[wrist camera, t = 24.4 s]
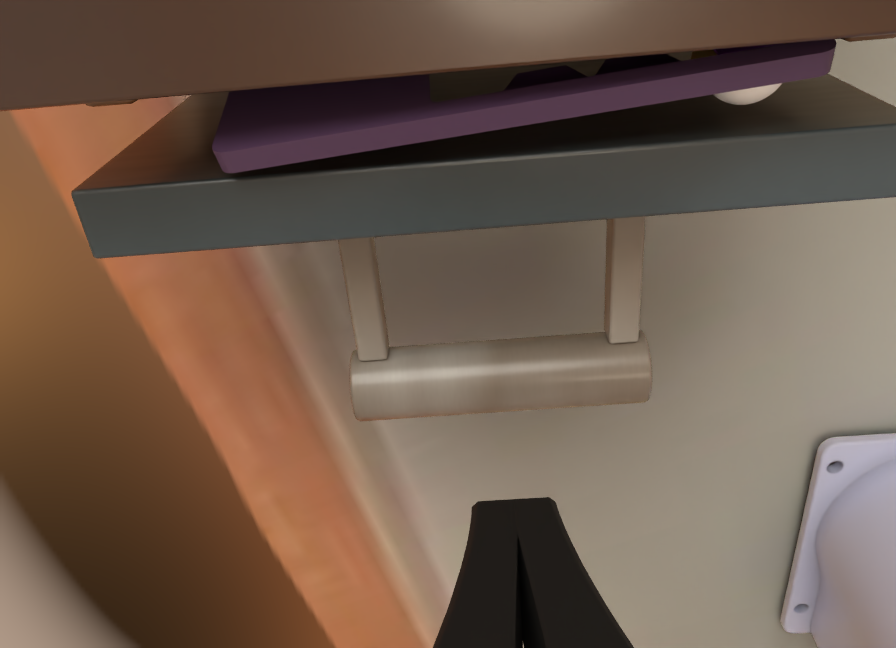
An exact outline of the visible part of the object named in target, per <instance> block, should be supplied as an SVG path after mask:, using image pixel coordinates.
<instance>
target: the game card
mask: <svg viewBox="0 0 896 648" xmlns="http://www.w3.org/2000/svg"><path fill="white" fill-rule="evenodd" d="M835 47H836V41H835V40H834V39H830V40H819V41H807V42H795V43H784V44H772V45H761V46H749V47H737V48H726V49H714V50H703V51H693V52H692V55H691V59H690V60H684V61H681V60H679V59H676V58H674V57H672V56H670V55H667V54H656V55H645V56H633V57H622V58H610V59H606V60H605V61H604V63H603V64H602V66H601V67H600V69H599V70H598V72H597V73H596V75H595V76H590V77H588V76H586V75H584V74H582V73H580V72H578V71H576V70H574V69H572V68H571V67H569V66H567V65H564V66H558V67H552V68H546V69H540V70H534V71H528V72H523V73H517V74H516V75H515V77H514V78H513V79H512V80H511V82H510V83H509V84H508V85H507V87H506V88H505V89H504V91H501V92H495V93H489V94H483V95H477V96H471V97H465V98H459V99H453V100H447V101H441V102H433V101H431V99H430V81H429V74H424V75H413V76H401V77H390V78H378V79H366V80H355V81H343V82H332V83H320V84H309V85H297V86H285V87H274V88H262V89H251V90H239V91H229V94H228V97H227V100H226V104H225V107H224V110H223V113H222V116H221V119H220V122H219V125H218V129H217V132H216V135H215V138H214V141H213V144H212V149H213V152H214V154H215V156H216V158H217V160H218V162H219V165H220V167H221V169H222V171H224V172H226V173H237V172H243V171H249V170H255V169H262V168H268V167H274V166H280V165H286V164H292V163H298V162H304V161H310V160H316V159H322V158H329V157H335V156H341V155H347V154H353V153H359V152H365V151H371V150H377V149H383V148H389V147H396V146H402V145H408V144H414V143H420V142H426V141H432V140H438V139H444V138H450V137H456V136H463V135H469V134H475V133H481V132H487V131H493V130H499V129H505V128H511V127H517V126H523V125H530V124H536V123H542V122H548V121H554V120H560V119H566V118H572V117H578V116H584V115H590V114H597V113H603V112H609V111H615V110H621V109H627V108H633V107H639V106H645V105H651V104H657V103H664V102H670V101H676V100H682V99H688V98H694V97H700V96H706V95H712V94H713V95H714V96H715V97H717V98H718V99H720V100H722V101H724V102H726V103H730V104H735V105H746V104H752V103H755V102H758V101H761V100H763V99H765V98H766V97H768V96H770V95H771V94H772V93H773V92H775V91H776V90H777V89H778V88H779V87H780V85H781V84H782V83H785V82H791V81H798V80H804V79H810V78H816V77H820V76H824V75H826V74H827V73H828V72H829V71H830V69H831V64H832V60H833V56H834V51H835Z"/></svg>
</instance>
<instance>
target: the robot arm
mask: <svg viewBox="0 0 896 648" xmlns="http://www.w3.org/2000/svg"><path fill="white" fill-rule="evenodd" d="M835 461H836V462H835ZM832 462H835V463H834V464H832V465H829V464H830V463H832ZM780 620H781V624H782V626H783V628H784V630H785V631H787V632H789V633H811V634H812V636H813V638H814V640H815V642H816V644H817V646H818V648H896V433H887V434H872V435H856V436H840V437H832V438H829V439H827V440H825V441H823V442H822V443H821V444H820V445H819V448H818V450H817V454H816V459H815V463H814V468H813V473H812V477H811V482H810V486H809V491H808V495H807V500H806V504H805V509H804V514H803V518H802V523H801V527H800V532H799V536H798V541H797V545H796V550H795V555H794V559H793V564H792V568H791V573H790V577H789V582H788V586H787V591H786V596H785V600H784V605H783V609H782V614H781V618H780ZM523 644H524V648H634V647H633V645H632V644H631V642H630V641H629V639H628V638H627V636H626V635H625V633H624V632H623V630H622V629H621V627H620V626H619V624H618V623H617V621H616V620H615V618H614V617H613V615H612V614H611V612H610V610H609V609H608V607H607V606H606V604H605V602H604V601H603V599H602V597H601V595H600V594H599V592H598V590H597V589H596V587H595V585H594V583H593V582H592V580H591V578H590V577H589V575H588V573H587V571H586V569H585V567H584V566H583V564H582V562H581V560H580V558H579V556H578V554H577V552H576V550H575V548H574V546H573V544H572V542H571V540H570V538H569V536H568V533H567V531H566V529H565V527H564V524H563V522H562V519H561V517H560V514H559V511H558V508H557V505H556V502H555V501H553V500H552V499H551V498H549V497H546V498H529V499H512V500H495V501H478V502H477V503H476V504H475V505H474V506H472V515H471V524H470V531H469V536H468V541H467V546H466V550H465V554H464V558H463V562H462V566H461V569H460V572H459V576H458V579H457V582H456V585H455V588H454V592H453V595H452V598H451V601H450V604H449V607H448V610H447V613H446V615H445V618H444V620H443V623H442V625H441V628H440V631H439V633H438V636H437V638H436V641H435V644H434V646H433V648H523Z"/></svg>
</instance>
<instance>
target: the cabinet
mask: <svg viewBox="0 0 896 648" xmlns="http://www.w3.org/2000/svg"><path fill="white" fill-rule="evenodd" d="M888 34H896V0H0V111H7V110H19V109H30V108H42V107H53V106H65V105H77V104H88V103H100V102H111V101H123V100H135V99H146V98H158V97H169V96H181V95H193V94H204V93H216V92H227V91H239V90H251V89H262V88H274V87H285V86H297V85H309V84H320V83H332V82H343V81H355V80H366V79H378V78H390V77H401V76H413V75H424V74H436V73H448V72H459V71H471V70H482V69H494V68H506V67H517V66H529V65H540V64H552V63H564V62H575V61H587V60H598V59H610V58H622V57H633V56H645V55H656V54H668V53H680V52H691V51H703V50H714V49H726V48H737V47H749V46H761V45H772V44H784V43H795V42H807V41H819V40H830V39H842V38H853V37H865V36H877V35H888Z"/></svg>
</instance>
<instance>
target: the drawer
mask: <svg viewBox="0 0 896 648" xmlns="http://www.w3.org/2000/svg"><path fill="white" fill-rule="evenodd" d="M894 37H896V34H888V35H877V36H865V37H853V38H842V39H843V40H846V41H849V42H852V41H863V40H875V39H887V38H894ZM692 52H693V51H691V52H680V53H668V54H667V55H670V56H672V57H674V58H676V59H679V60H681V61H684V60H690V59H691V55H692ZM605 60H606V59H598V60H587V61H575V62H564V63H552V64H540V65H529V66H517V67H506V68H494V69H482V70H471V71H459V72H448V73H436V74H429V81H430V99H431V101H433V102H441V101H447V100H453V99H459V98H465V97H471V96H477V95H483V94H489V93H495V92H501V91H504V89H505V88H506V87H507V85H508V84H509V83H510V82H511V80H512V79H513V78H514V77H515V75H516V74H517V73H523V72H528V71H534V70H540V69H546V68H552V67H558V66H564V65H567V66H569V67H571V68H572V69H574V70H576V71H578V72H580V73H582V74H584V75H586V76H588V77H590V76H595V75H596V73H597V72H598V70H599V69H600V67H601V66H602V64H603V63H604V61H605ZM228 94H229V91H227V92H216V93H204V94H193V95H191V96H190V97H189V98H187V99H186V100H185V101H184V102H182V103H181V104H180V105H179V106H177V107H176V108H175V109H174V110H172V111H171V112H170V113H169V114H167V115H166V116H165V117H164V118H162V119H161V120H160V121H159V122H157V123H156V124H155V125H154V126H152V127H151V128H150V129H149V130H147V131H146V132H145V133H144V134H142V135H141V136H140V137H139V138H137V139H136V140H135V141H134V142H133V143H131V144H130V145H129V146H128V147H126V148H125V149H124V150H123V151H121V152H120V153H119V154H118V155H116V156H115V157H114V158H113V159H111V160H110V161H109V162H108V163H106V164H105V165H104V166H103V167H101V168H100V169H99V170H98V171H96V172H95V173H94V174H93V175H91V176H90V177H89V178H88V179H86V180H85V181H84V182H83V183H81V184H80V185H79V186H78V187H76V188H75V189H74V190H73V191H72V198H73V201H74V204H75V207H76V209H77V212H78V215H79V218H80V221H81V223H82V226H83V229H84V232H85V234H86V237H87V240H88V243H89V246H90V248H91V251H92V254H93V256H94V257H95V258H110V257H123V256H136V255H149V254H162V253H175V252H188V251H201V250H214V249H227V248H240V247H253V246H266V245H279V244H292V243H305V242H318V241H331V240H338V243H339V249H340V255H341V261H342V267H343V272H344V278H345V284H346V290H347V295H348V301H349V307H350V313H351V319H352V324H353V330H354V336H355V342H356V347H357V349H356V350H354V351H353V353H352V356H351V360H350V375H349V376H350V394H351V402H352V407H353V411H354V414H355V417H356V419H357V420H359V421H371V420H386V419H401V418H416V417H431V416H446V415H461V414H476V413H492V412H507V411H522V410H537V409H552V408H567V407H582V406H597V405H612V404H627V403H642V402H646V401H648V400H649V398H650V394H651V389H652V364H651V356H650V350H649V346H648V342H647V339H646V337H645V335H644V333H643V332H642V331H641V330H639V324H640V306H641V288H642V270H643V252H644V234H645V216H655V215H668V214H681V213H694V212H707V211H720V210H733V209H746V208H759V207H772V206H785V205H798V204H811V203H824V202H837V201H850V200H863V199H876V198H889V197H896V107H895V106H892V105H890V104H888V103H886V102H884V101H882V100H880V99H878V98H876V97H874V96H872V95H870V94H868V93H866V92H864V91H862V90H860V89H858V88H856V87H854V86H852V85H849V84H847V83H845V82H843V81H841V80H839V79H837V78H835V77H833V76H831V75H829V74H826V75H824V76H820V77H816V78H810V79H804V80H798V81H791V82H785V83H782V84H781V85H780V87H779V88H778V89H777V90H776V91H775V92H773V93H772V94H771V95H770V96H768V97H766V98H765V99H763V100H761V101H758V102H755V103H752V104H746V105H735V104H730V103H726V102H724V101H722V100H720V99H718V98H717V97H715V96H714V95H713V94H712V95H706V96H700V97H694V98H688V99H682V100H676V101H670V102H664V103H657V104H651V105H645V106H639V107H633V108H627V109H621V110H615V111H609V112H603V113H597V114H590V115H584V116H578V117H572V118H566V119H560V120H554V121H548V122H542V123H536V124H530V125H523V126H517V127H511V128H505V129H499V130H493V131H487V132H481V133H475V134H469V135H463V136H456V137H450V138H444V139H438V140H432V141H426V142H420V143H414V144H408V145H402V146H396V147H389V148H383V149H377V150H371V151H365V152H359V153H353V154H347V155H341V156H335V157H329V158H322V159H316V160H310V161H304V162H298V163H292V164H286V165H280V166H274V167H268V168H262V169H255V170H249V171H243V172H237V173H226V172H224V171H222V169H221V167H220V165H219V162H218V160H217V158H216V156H215V154H214V152H213V149H212V144H213V141H214V138H215V135H216V132H217V129H218V125H219V122H220V119H221V116H222V113H223V110H224V107H225V104H226V100H227V97H228ZM137 100H138V99H135V100H123V101H111V102H100V103H88V104H86V105H88V106H92V107H95V106H107V105H119V104H130V103H133V102H135V101H137ZM603 219H607V238H606V274H605V311H604V330H605V332H597V333H583V334H569V335H555V336H540V337H526V338H512V339H498V340H484V341H469V342H455V343H441V344H427V345H413V346H399V347H389V337H388V330H387V324H386V317H385V310H384V303H383V296H382V289H381V283H380V276H379V269H378V262H377V255H376V248H375V241H374V237H383V236H396V235H409V234H422V233H435V232H448V231H460V230H473V229H486V228H499V227H512V226H525V225H538V224H551V223H564V222H577V221H590V220H603Z"/></svg>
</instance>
